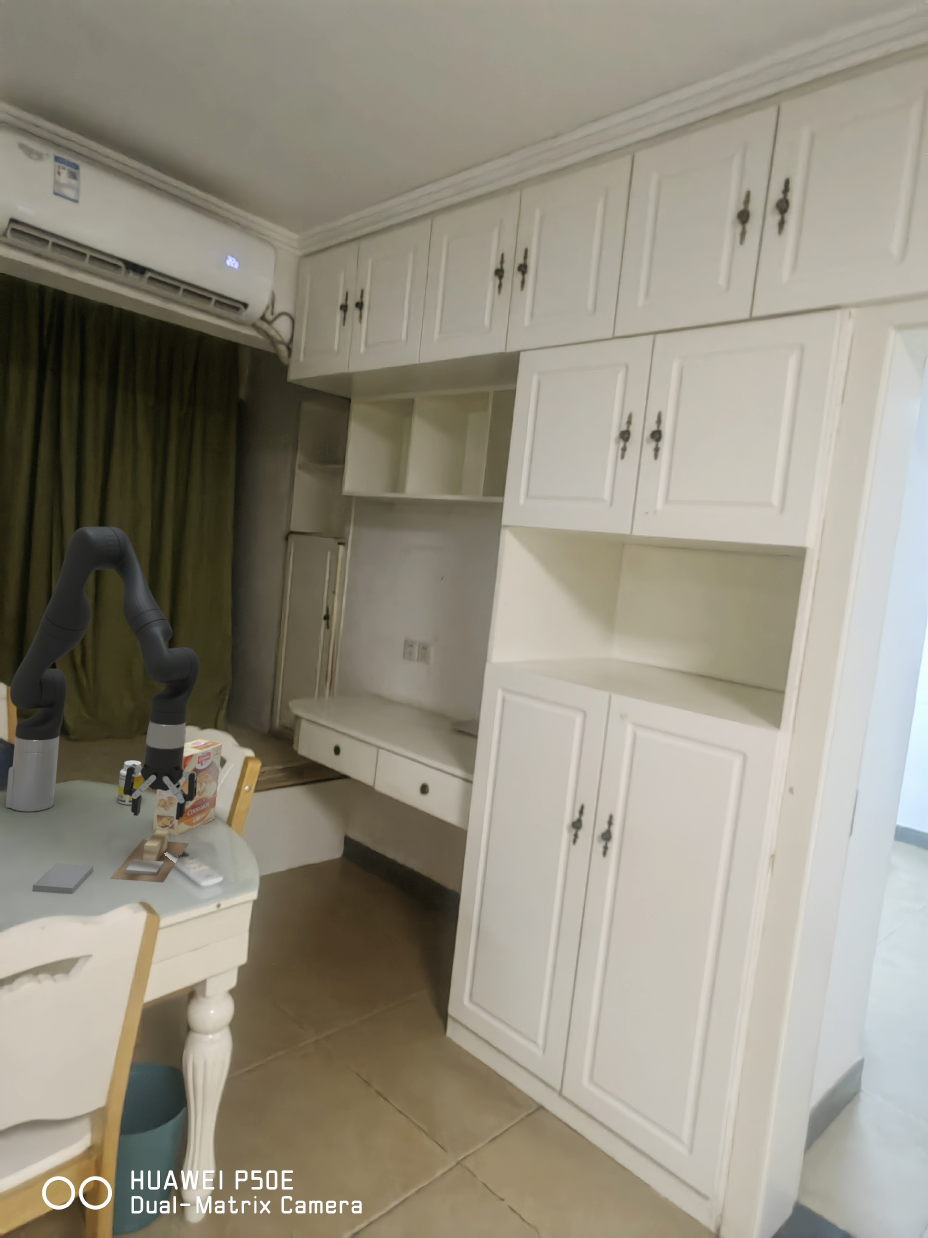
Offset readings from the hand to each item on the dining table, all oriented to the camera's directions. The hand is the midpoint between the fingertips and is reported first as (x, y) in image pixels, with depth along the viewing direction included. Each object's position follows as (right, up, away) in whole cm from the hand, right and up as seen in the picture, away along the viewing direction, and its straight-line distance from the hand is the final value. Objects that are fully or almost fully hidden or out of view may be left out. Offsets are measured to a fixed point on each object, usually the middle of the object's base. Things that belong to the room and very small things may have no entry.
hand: (157, 816), depth 158 cm
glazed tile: (-13, -8, -9) cm, 18 cm away
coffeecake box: (-2, -8, +21) cm, 23 cm away
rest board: (-1, -10, -1) cm, 10 cm away
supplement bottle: (-20, -5, +32) cm, 39 cm away
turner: (-1, -9, -1) cm, 9 cm away
